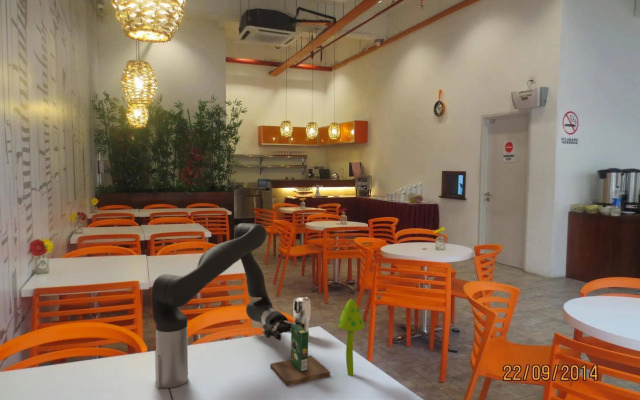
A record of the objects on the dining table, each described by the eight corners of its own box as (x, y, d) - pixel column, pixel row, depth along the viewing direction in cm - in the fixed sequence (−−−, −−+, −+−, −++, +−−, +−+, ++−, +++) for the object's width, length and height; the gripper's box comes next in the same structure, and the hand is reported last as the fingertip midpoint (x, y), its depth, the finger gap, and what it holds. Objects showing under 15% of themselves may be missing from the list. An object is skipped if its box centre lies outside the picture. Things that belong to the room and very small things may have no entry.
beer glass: (310, 339, 170) (310, 302, 169) (292, 339, 170) (292, 301, 169) (310, 333, 177) (311, 297, 176) (293, 333, 177) (294, 296, 176)
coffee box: (308, 371, 139) (309, 331, 138) (300, 373, 138) (300, 332, 137) (298, 361, 146) (298, 323, 146) (290, 363, 145) (290, 324, 144)
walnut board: (287, 386, 132) (287, 381, 132) (270, 368, 145) (270, 363, 145) (330, 376, 139) (330, 371, 139) (310, 359, 152) (310, 355, 152)
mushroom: (342, 382, 135) (343, 303, 134) (334, 370, 144) (335, 295, 142) (367, 378, 138) (368, 301, 136) (358, 367, 146) (359, 294, 144)
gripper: (255, 313, 158) (272, 327, 144) (291, 308, 165) (310, 321, 150) (256, 333, 159) (272, 350, 144) (291, 327, 165) (310, 342, 151)
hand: (291, 335), depth 147 cm, fingers open, 8 cm apart
